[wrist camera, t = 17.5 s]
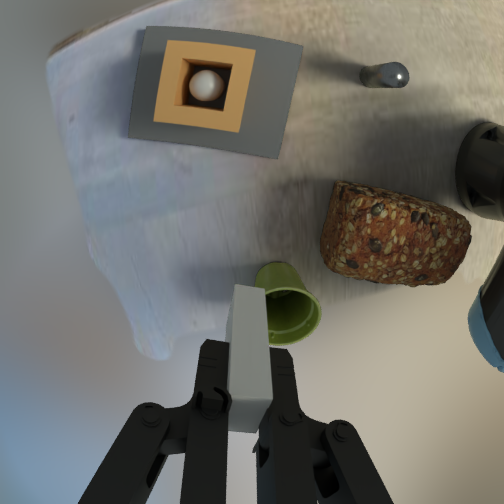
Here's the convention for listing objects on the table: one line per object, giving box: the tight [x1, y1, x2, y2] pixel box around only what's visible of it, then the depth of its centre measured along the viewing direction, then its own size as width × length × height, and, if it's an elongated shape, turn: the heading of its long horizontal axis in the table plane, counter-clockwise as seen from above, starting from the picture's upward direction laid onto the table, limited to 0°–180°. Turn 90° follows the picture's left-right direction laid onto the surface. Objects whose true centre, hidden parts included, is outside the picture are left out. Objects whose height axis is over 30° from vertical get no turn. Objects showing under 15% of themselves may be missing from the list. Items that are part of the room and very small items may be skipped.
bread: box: [320, 180, 472, 287], centre depth 35 cm, size 19×11×10 cm, turn 81°
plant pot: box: [254, 262, 321, 346], centre depth 40 cm, size 9×9×9 cm
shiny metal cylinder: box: [360, 62, 409, 88], centre depth 27 cm, size 3×3×8 cm
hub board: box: [128, 26, 303, 159], centre depth 28 cm, size 18×14×8 cm
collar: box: [153, 40, 256, 133], centre depth 27 cm, size 8×8×7 cm
